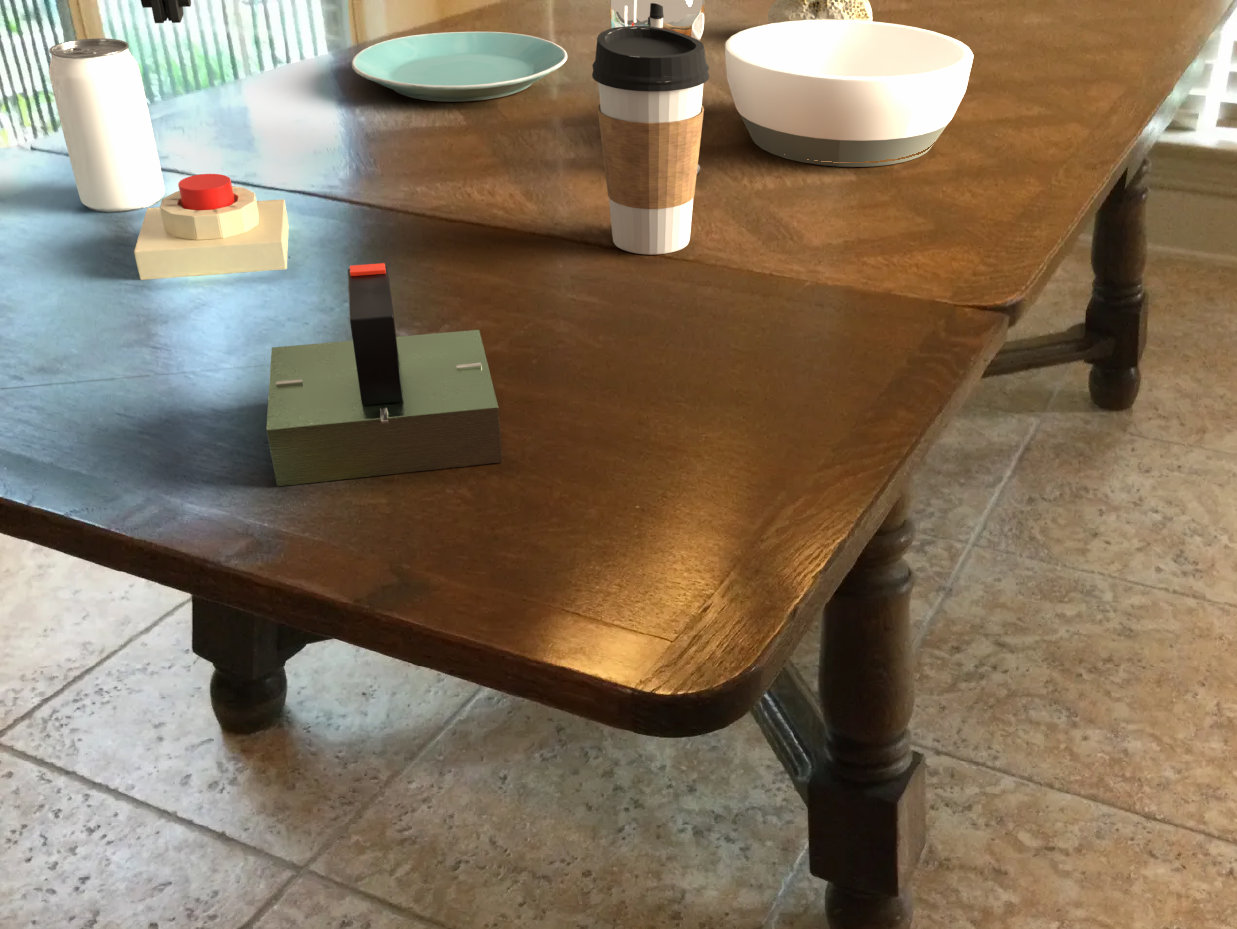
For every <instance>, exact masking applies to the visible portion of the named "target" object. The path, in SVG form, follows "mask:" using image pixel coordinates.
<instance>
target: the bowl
mask: <svg viewBox="0 0 1237 929" xmlns="http://www.w3.org/2000/svg"><path fill="white" fill-rule="evenodd" d="M724 59H725V74H726V82H727V84H728V88H729V91H730V93H731V97H732V101H733V103H734V106H735V109H736V111H737V112H738V114H739V116H740V117H741V120H742V122H743V124H744V125H745V127H746V129H747V132H748V134H749V135H750V138H751V140H752V141H753V143H754V144H755V146H758V147H759V148H760V149H762V150H764V151H765V152H767V153H770V154H771V155H774V156H776V157H777V156H778V157H779V158H780V157H781V158H783V159H786V160H790V161H795V162H800V163H804V164H812V165H818V166H828V167H829V166H830V167H839V168H841V167H842V168H846V167H847V168H864V167H865V168H867V167H881V166H888V165H889V166H890V165H895V164H900V163H901V164H902V163H906V162H909V161H912V160H915V159H918V158H920V157H922V156H924V155H925V154H928V152H929V151H930V150H931V149H932V147H933V146H934V144H935V143H936V141H937V140H938V139H939V137H940V136H941V134H942V133H943V132H944V130H945V129H946V128H947V126H948V125H949V123H950V122H951V121H952V119H953V117H954V116H955V114H956V112H957V110H958V108H959V106H960V104H961V102H962V99H963V98H964V95H965V94H966V91H967V87H968V83H969V79H970V74H971V69H972V65H973V60H974V54H973V51H972V50H971V49H970V47H969V46H968V45H967V44H965V43H963V42H962V41H960V40H958V39H956V38H953V37H951V36H948V35H945V34H942V33H939V32H936V31H933V30H928V29H924V28H920V27H915V26H909V25H904V24H898V23H889V22H881V21H873V20H872V21H858V20H802V21H788V22H780V23H773V24H763V25H758V26H753V27H750V28H746V29H743V30H740V31H738V32H736V33H735V34H733V35H731V36H730V37H729V38H728V39H727V40H726V41H725V43H724ZM934 142H935V143H934ZM933 143H934V144H933ZM932 144H933V145H932ZM931 145H932V146H931ZM930 146H931V147H930ZM928 147H930V148H929V149H928V150H926V151H925V152H923V153H921V154H919V155H915V156H912V157H909V158H905V159H900V160H895V161H887V162H878V163H833V162H865V161H880V160H886V159H898V158H901V157H906V156H909V155H912V154H916V153H918V152H921V151H923V150H925V149H927V148H928ZM784 154H785V155H784ZM807 159H809V160H807ZM814 160H818V161H814ZM821 161H832V162H821Z"/></svg>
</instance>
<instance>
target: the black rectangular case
mask: <svg viewBox="0 0 1237 929" xmlns="http://www.w3.org/2000/svg"><path fill="white" fill-rule="evenodd" d="M347 287H348V307H349V308H348V309H349V324H350V332H351V337H352V341H353V346H354V353H355V360H356V367H357V374H358V381H359V388H360V396H361V403H362V405H371V404H381V403H392V402H402V401H403V391H402V382H401V373H400V365H399V356H398V347H397V339H396V337H397V332H396V323H395V314H394V307H393V298H392V290H391V280H390V274H389V267H388V265H387V266H386V264H385V263H384V262H382V263H381V262H379V263H369V264H368V263H367V264H354V265H349V268H347Z"/></svg>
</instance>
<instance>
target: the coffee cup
mask: <svg viewBox="0 0 1237 929" xmlns="http://www.w3.org/2000/svg"><path fill="white" fill-rule="evenodd" d="M594 59H595V60H594V62H593V63H592V65H591V66H592V73H591V79H593V80H594V81H595V82H596V83H597V84H598V85H597V86H598V95H599V96H598V97H599V104H598V106H597V111H598V112H597V113H598V121H599V129H600V130H599V131H600V140H601V148H602V155H603V163H604V164H603V165H604V173H605V181H606V191H607V197H608V204H609V214H610V226H611V235H612V236H611V237H612V243H613V244H614V246H616V247H617V248H619V249H620V250H623V251H625V252H629V253H633V254H638V255H648V256H651V255H665V254H671V253H674V252H678V251H680V250H683V249H685V247H687V246H688V245H689V243H690V240H691V231H692V230H691V229H692V217H693V208H694V207H693V206H694V198H695V192H696V184H697V183H696V182H697V177H696V175H697V166H698V164H699V156H700V147H701V138H702V128H703V122H704V121H703V120H704V111H705V108H704V105H702V104H703V94H704V93H703V92H704V84H705V83H707V81H709V79H710V74H709V70H710V66H709V65H708V62H707V59H706V50H705V46H704V43H703V42H702V41H701V40H700V41H699V40H697V39H695V38H693V37H690V36H688V35H685V34H682V33H679V32H675V31H672V30H668V29H664V28H658V27H652V26H625V27H616V28H611V27H610V28H608V29H606V30H604V31H602V32H600V33H599V34H598V35H597V37H596V47H595V58H594Z"/></svg>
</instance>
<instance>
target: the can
mask: <svg viewBox="0 0 1237 929" xmlns="http://www.w3.org/2000/svg"><path fill="white" fill-rule="evenodd" d="M129 45H130V44H129V43H128V42H127V41H125V40H121V39H115V38H101V37H99V38H98V37H97V38H96V37H95V38H84V39H74V40H68V41H64V42H60V43H58V44H54V45H52V46H51V47H50V48H49V50H48V52H49V54H50V57H51V59H50V63H49V68H48V75H49V81H50V84H51V90H52V93H53V98H54V100H55V106H56V109H57V113H58V116H59V117H58V118H59V121H60V125H61V129H62V133H63V134H62V135H63V138H64V142H65V145H66V150H67V154H68V157H69V162H70V165H71V170H72V173H73V177H74V181H75V185H76V188H77V192H78V195H79V199H80V202H81V204H82V205H84V206H85V207H87V209H89V210H91V211H94V212H100V213H127V212H133V211H138V210H143V209H147V208H151V207H152V206H155V205H157V204H159V202H161V201H162V199H163V197H164V195H165V193H166V187H165V183H164V177H163V172H162V168H161V163H160V158H159V153H158V149H157V143H156V139H155V135H154V129H153V124H152V120H151V115H150V111H149V107H148V101H147V97H146V92H145V88H144V87H145V86H144V83H143V78H142V73H141V70H140V66H139V63H138V62H137V60H136V59H135V58H134V56H133V55H132V53H131V52H130V50H129V47H130V46H129Z"/></svg>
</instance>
